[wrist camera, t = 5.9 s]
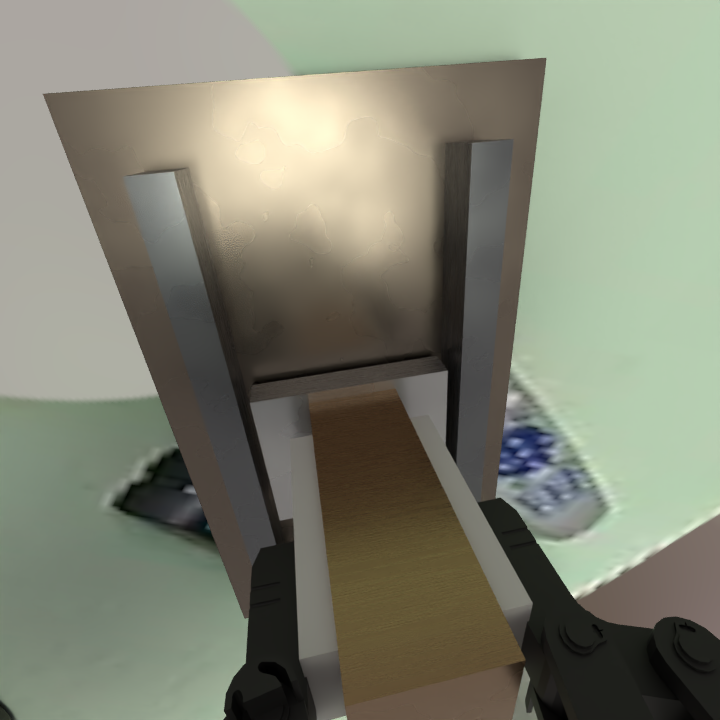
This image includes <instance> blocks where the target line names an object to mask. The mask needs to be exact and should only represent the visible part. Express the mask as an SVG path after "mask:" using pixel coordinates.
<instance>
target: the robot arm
mask: <svg viewBox="0 0 720 720" xmlns="http://www.w3.org/2000/svg"><path fill="white" fill-rule="evenodd" d="M410 420H411V422H412V424H413V426H414V428H415V430H416V432H417V434H418V437H419V439H420V441H421V443H422V445H423V447H424V449H425V451H426V453H427V455H428V457H429V459H430V462H431V464H432V466H433V468H434V470H435V472H436V474H437V476H438V478H439V480H440V482H441V484H442V487H443V489H444V491H445V493H446V495H447V497H448V499H449V501H450V503H451V505H452V507H453V510H454V512H455V514H456V516H457V518H458V520H459V522H460V524H461V526H462V528H463V530H464V532H465V535H466V537H467V539H468V541H469V543H470V545H471V547H472V549H473V551H474V553H475V555H476V557H477V560H478V562H479V564H480V566H481V568H482V570H483V572H484V574H485V576H486V578H487V580H488V582H489V585H490V587H491V589H492V591H493V593H494V595H495V597H496V599H497V601H498V603H499V605H500V607H501V610H502V612H503V614H504V616H505V618H506V620H507V622H508V624H509V626H510V628H511V630H512V632H513V635H514V637H515V639H516V641H517V643H518V645H519V647H520V649H521V651H522V653H523V655H524V657H525V660H526V662H525V666H524V667H525V669H526V671H527V673H528V675H529V678H530V682H529V686H528V690H527V694H526V698H525V705H526V712H527V713H532V709H533V706H534V710H535V713H536V716H537V719H538V720H720V640H719V639H718V638H716V637H715V636H714V635H713V634H712V633H711V632H709V631H708V630H707V629H706V628H704V627H702V626H700V625H698V624H696V623H695V622H693V621H691V620H687V619H683V618H679V617H667V618H663V619H662V620H660V621H659V622H658V623H656V625H655V627H654V629H650V628H642V627H634V626H626V625H618V624H614V623H609V622H606V621H604V620H601V619H599V618H597V617H595V616H594V615H593V614H591V613H590V612H589V611H586V610H585V609H584V608H583V607H581V606H580V605H579V604H578V603H577V601H576V600H575V599H574V598H573V596H572V595H571V594H570V592H569V591H568V589H567V588H566V586H565V584H564V583H563V581H562V580H561V578H560V577H559V575H558V574H557V572H556V571H555V569H554V568H553V566H552V564H551V563H550V561H549V560H548V558H547V557H546V555H545V554H544V552H543V551H542V549H541V548H540V546H539V544H537V543H536V540H535V538H534V537H533V535H532V534H531V532H530V531H529V530H528V529H527V526H526V524H525V523H524V521H523V520H522V518H521V517H520V515H519V514H518V512H517V511H516V510H515V509H514V508H513V507H511V506H510V505H509V504H508V503H506V502H505V501H504V500H503V499H501V498H497V499H492V500H487V501H482V502H476V500H475V498H474V496H473V494H472V493H471V491H470V489H469V487H468V485H467V484H466V482H465V480H464V478H463V476H462V475H461V473H460V471H459V469H458V467H457V466H456V464H455V462H454V460H453V458H452V456H451V455H450V453H449V451H448V449H447V447H446V446H445V444H444V442H443V440H442V438H441V437H440V435H439V433H438V431H437V429H436V428H435V426H434V424H433V422H432V420H431V419H430V417H429V415H423V416H417V417H412V418H410ZM290 451H291V475H292V499H293V523H294V541H293V542H288V543H283V544H278V545H273V546H269V547H264V548H260V551H259V553H258V555H257V557H256V559H255V561H254V564H253V566H252V572H251V592H250V609H249V621H248V637H247V654H246V664H244V665H243V667H242V668H241V669H240V670H239V671H238V673H237V674H236V675H235V676H234V677H233V679H232V682H231V684H230V686H229V688H228V691H227V693H226V699H225V707H224V712H225V714H226V717H225V718H224V720H331V719H335V718H339V717H343V716H346V710H345V705H344V696H343V688H342V679H341V671H340V663H339V654H338V646H337V637H336V629H335V621H334V612H333V604H332V595H331V587H330V578H329V570H328V562H327V553H326V545H325V536H324V528H323V519H322V511H321V503H320V494H319V486H318V477H317V469H316V461H315V452H314V444H313V435H309V436H304V437H298V438H292V439H290ZM0 720H12V719H11V718H10V716H9V715H8V714H7V712H6V711H5V710H4V709H3V708H2V707H0Z"/></svg>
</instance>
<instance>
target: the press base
mask: <svg viewBox="0 0 720 720" xmlns="http://www.w3.org/2000/svg"><path fill="white" fill-rule="evenodd" d="M545 66H546V58H538V59H524V60H510V61H496V62H482V63H468V64H454V65H440V66H426V67H412V68H398V69H384V70H370V71H356V72H342V73H328V74H314V75H300V76H287V77H272V78H258V79H244V80H230V81H216V82H202V83H188V84H175V85H160V86H146V87H132V88H118V89H105V90H91V91H77V92H62V93H48V94H43V95H44V98H45V101H46V103H47V106H48V108H49V111H50V113H51V116H52V119H53V121H54V124H55V127H56V129H57V132H58V134H59V137H60V140H61V142H62V144H63V147H64V150H65V153H66V155H67V158H68V160H69V163H70V165H71V168H72V171H73V173H74V176H75V179H76V181H77V184H78V186H79V189H80V192H81V194H82V197H83V199H84V202H85V204H86V207H87V210H88V212H89V215H90V217H91V220H92V223H93V225H94V228H95V231H96V233H97V236H98V238H99V241H100V244H101V246H102V249H103V251H104V254H105V257H106V259H107V262H108V264H109V267H110V269H111V272H112V275H113V277H114V280H115V283H116V285H117V288H118V290H119V293H120V296H121V298H122V301H123V303H124V306H125V309H126V311H127V314H128V316H129V319H130V321H131V324H132V327H133V329H134V332H135V334H136V337H137V339H138V342H139V345H140V348H141V350H142V352H143V355H144V358H145V360H146V363H147V365H148V368H149V371H150V373H151V376H152V379H153V381H154V384H155V386H156V389H157V392H158V394H159V397H160V400H161V402H162V405H163V407H164V410H165V413H166V415H167V418H168V420H169V423H170V426H171V428H172V431H173V433H174V436H175V439H176V441H177V444H178V446H179V449H180V452H181V454H182V457H183V459H184V462H185V465H186V467H187V470H188V472H189V475H190V478H191V480H192V483H193V485H194V488H195V491H196V493H197V496H198V498H199V501H200V504H201V506H202V509H203V511H204V514H205V517H206V519H207V522H208V524H209V527H210V530H211V532H212V535H213V537H214V540H215V543H216V545H217V548H218V550H219V553H220V556H221V558H222V561H223V563H224V566H225V569H226V571H227V574H228V576H229V579H230V582H231V584H232V587H233V589H234V592H235V595H236V597H237V600H238V602H239V605H240V608H241V610H242V613H243V615H244V618H249V609H250V592H251V572H252V566H253V564H254V561H255V559H256V557H257V555H258V553H259V551H260V548H264V547H269V546H273V545H278V544H283V543H288V542H293V541H294V523H293V518H291V519H286V520H281V521H280V519H279V515H278V511H277V507H276V504H275V500H274V496H273V492H272V488H271V484H270V480H269V476H268V472H267V468H266V465H265V461H264V457H263V453H262V449H261V445H260V441H259V437H258V433H257V430H256V426H255V422H254V418H253V414H252V410H251V406H250V396H251V387H252V385H256V384H263V383H269V382H275V381H281V380H288V379H294V378H300V377H307V376H313V375H319V374H325V373H332V372H338V371H344V370H351V369H357V368H363V367H370V366H376V365H382V364H388V363H395V362H401V361H407V360H414V359H420V358H426V357H432V356H437V357H438V358H439V360H440V361H441V362H442V364H443V365H444V366H445V368H446V369H447V370H448V380H447V413H446V447H447V449H448V451H449V453H450V455H451V456H452V458H453V460H454V462H455V464H456V466H457V467H458V469H459V471H460V473H461V475H462V476H463V478H464V480H465V482H466V484H467V485H468V487H469V489H470V491H471V493H472V494H473V496H474V498H475V500H476V502H482V501H487V500H492V499H495V496H496V487H497V478H498V470H499V461H500V453H501V444H502V435H503V427H504V418H505V410H506V401H507V393H508V384H509V375H510V367H511V358H512V350H513V341H514V332H515V324H516V315H517V307H518V298H519V289H520V281H521V272H522V264H523V255H524V247H525V238H526V229H527V221H528V212H529V204H530V195H531V186H532V178H533V169H534V161H535V152H536V143H537V135H538V126H539V118H540V109H541V101H542V92H543V83H544V75H545Z"/></svg>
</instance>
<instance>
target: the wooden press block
mask: <svg viewBox="0 0 720 720" xmlns="http://www.w3.org/2000/svg"><path fill="white" fill-rule="evenodd" d="M447 380H448V370H447V369H446V368H445V366H444V365H443V364H442V362H441V361H440V360H439V358H438V357H437V356H432V357H426V358H420V359H414V360H407V361H401V362H395V363H388V364H382V365H376V366H370V367H363V368H357V369H351V370H344V371H338V372H332V373H325V374H319V375H313V376H307V377H300V378H294V379H288V380H281V381H275V382H269V383H263V384H256V385H252V387H251V396H250V406H251V410H252V414H253V418H254V422H255V426H256V430H257V433H258V437H259V441H260V445H261V449H262V453H263V457H264V461H265V465H266V468H267V472H268V476H269V480H270V484H271V488H272V492H273V496H274V500H275V504H276V507H277V511H278V515H279V519H280V521H281V520H286V519H291V518H293V499H292V475H291V451H290V439H292V438H298V437H304V436H309V435H313V444H314V452H315V461H316V469H317V477H318V486H319V494H320V503H321V511H322V519H323V528H324V536H325V545H326V553H327V562H328V570H329V578H330V587H331V595H332V604H333V612H334V621H335V629H336V637H337V646H338V654H339V663H340V671H341V679H342V688H343V696H344V705H345V710H346V715H347V720H512V718H513V714H514V709H515V705H516V701H517V696H518V692H519V688H520V683H521V679H522V675H523V670H524V666H525V662H526V660H525V657H524V655H523V653H522V651H521V649H520V647H519V645H518V643H517V641H516V639H515V637H514V635H513V632H512V630H511V628H510V626H509V624H508V622H507V620H506V618H505V616H504V614H503V612H502V610H501V607H500V605H499V603H498V601H497V599H496V597H495V595H494V593H493V591H492V589H491V587H490V585H489V582H488V580H487V578H486V576H485V574H484V572H483V570H482V568H481V566H480V564H479V562H478V560H477V557H476V555H475V553H474V551H473V549H472V547H471V545H470V543H469V541H468V539H467V537H466V535H465V532H464V530H463V528H462V526H461V524H460V522H459V520H458V518H457V516H456V514H455V512H454V510H453V507H452V505H451V503H450V501H449V499H448V497H447V495H446V493H445V491H444V489H443V487H442V484H441V482H440V480H439V478H438V476H437V474H436V472H435V470H434V468H433V466H432V464H431V462H430V459H429V457H428V455H427V453H426V451H425V449H424V447H423V445H422V443H421V441H420V439H419V437H418V434H417V432H416V430H415V428H414V426H413V424H412V422H411V420H410V418H412V417H417V416H423V415H429V417H430V419H431V420H432V422H433V424H434V426H435V428H436V429H437V431H438V433H439V435H440V437H441V438H442V440H443V442H444V444H445V446H446V413H447Z"/></svg>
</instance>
